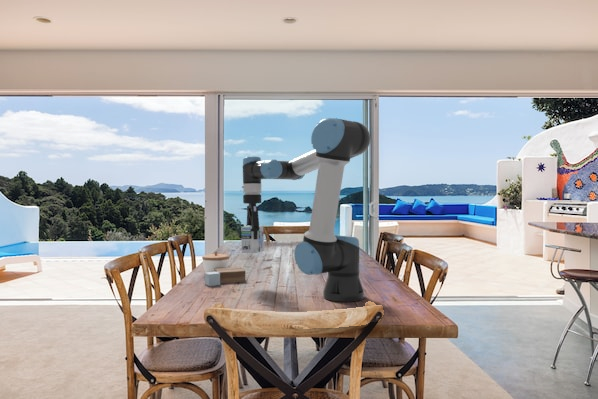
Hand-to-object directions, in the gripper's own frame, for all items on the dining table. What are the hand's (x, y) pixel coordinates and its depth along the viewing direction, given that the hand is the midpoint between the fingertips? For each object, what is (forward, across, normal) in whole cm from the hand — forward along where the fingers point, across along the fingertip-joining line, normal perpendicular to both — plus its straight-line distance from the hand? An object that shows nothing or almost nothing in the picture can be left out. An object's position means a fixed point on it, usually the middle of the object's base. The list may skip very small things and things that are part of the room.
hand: (252, 245), depth 185 cm
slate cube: (+17, -8, -16) cm, 25 cm away
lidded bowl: (+17, -30, -13) cm, 37 cm away
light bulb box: (+3, 0, 0) cm, 3 cm away
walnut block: (+17, -16, -8) cm, 25 cm away
